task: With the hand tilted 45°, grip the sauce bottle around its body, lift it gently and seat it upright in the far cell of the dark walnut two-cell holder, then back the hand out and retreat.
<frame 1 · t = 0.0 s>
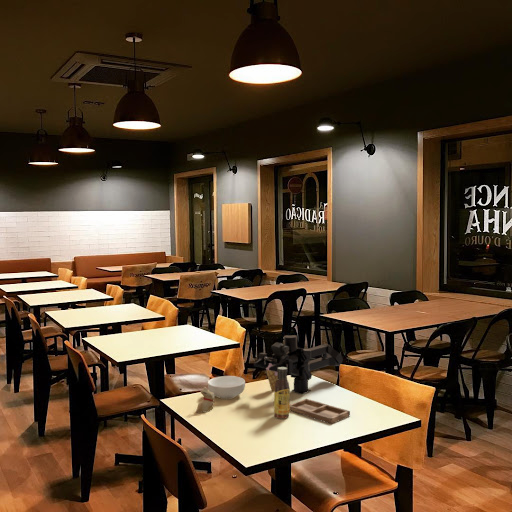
hand: (261, 366, 241), 17 cm above the table, tool horizontal, fingers open, 9 cm apart
ice cream cone: (273, 391, 262), on the table
sauce bottle: (282, 417, 228), on the table
chocolate bunny: (205, 410, 237), on the table
walnut holder: (318, 413, 231), on the table
cereal bowl: (226, 396, 255), on the table
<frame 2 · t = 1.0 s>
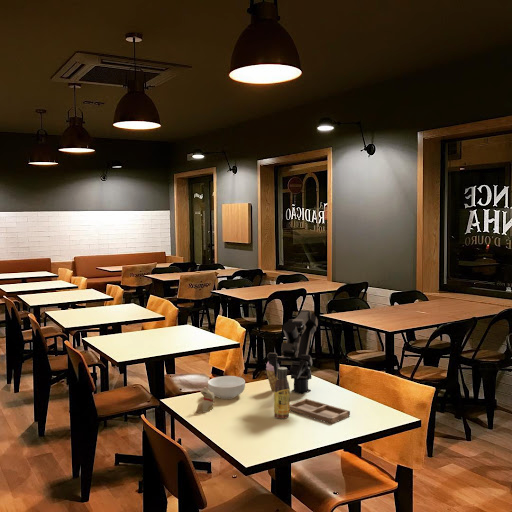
hand: (286, 377, 235), 14 cm above the table, tool tilted 45°, fingers open, 9 cm apart
nothing on the table moved.
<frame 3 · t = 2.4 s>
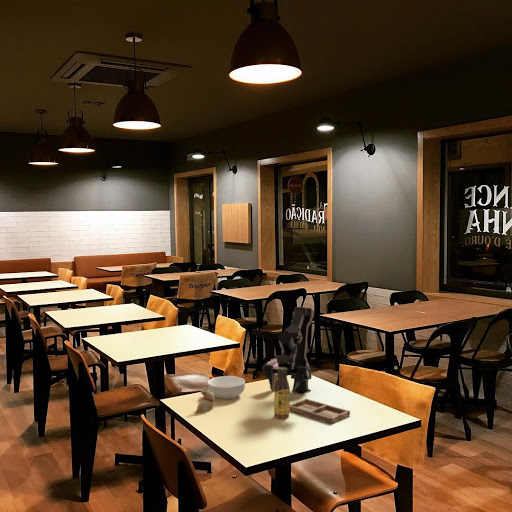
hand: (282, 390, 227), 11 cm above the table, tool tilted 45°, fingers open, 9 cm apart
nothing on the table moved.
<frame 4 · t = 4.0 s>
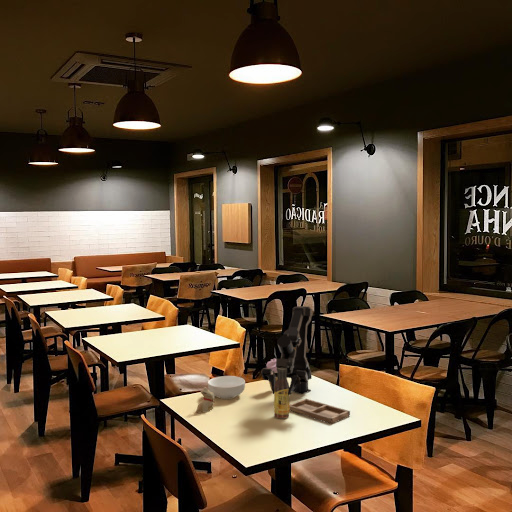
hand: (280, 394, 226), 10 cm above the table, tool tilted 45°, fingers closed on sauce bottle, 6 cm apart
sauce bottle: (282, 417, 228), on the table, touching gripper
everything else where it was.
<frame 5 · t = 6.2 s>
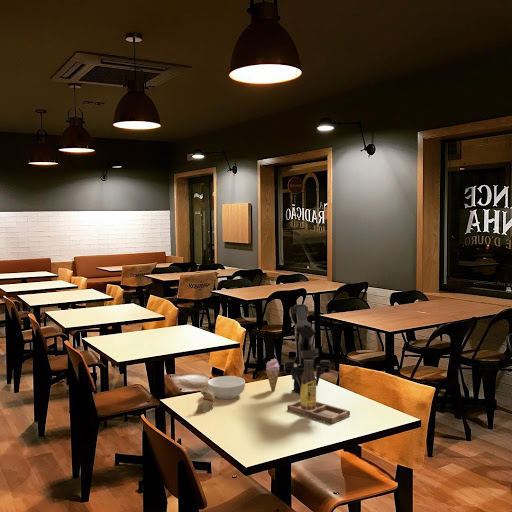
hand: (308, 385, 224), 13 cm above the table, tool tilted 45°, fingers closed on sauce bottle, 6 cm apart
sauce bottle: (308, 408, 226), point 3 cm above the table, touching gripper
everything else where it was.
when the fingers open (11 cm above the table, at t = 8.4 s): sauce bottle stays where it is, resting on walnut holder.
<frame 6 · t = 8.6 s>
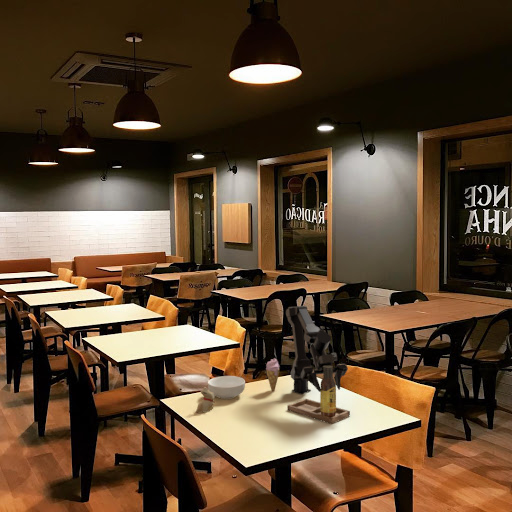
hand: (329, 390, 225), 11 cm above the table, tool tilted 45°, fingers open, 8 cm apart
sauce bottle: (328, 415, 227), resting on walnut holder
everything else where it was.
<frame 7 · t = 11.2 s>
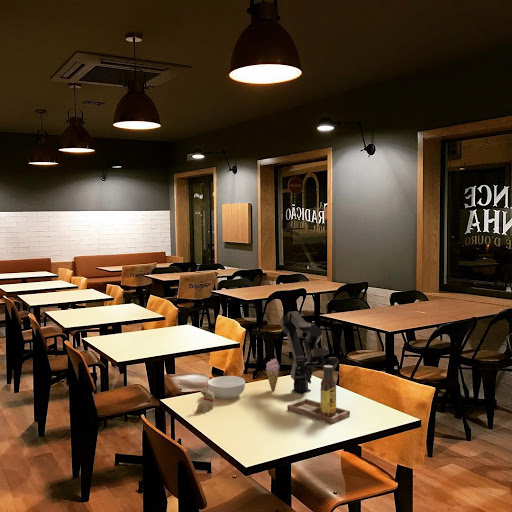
hand: (320, 382, 234), 12 cm above the table, tool tilted 45°, fingers open, 9 cm apart
nothing on the table moved.
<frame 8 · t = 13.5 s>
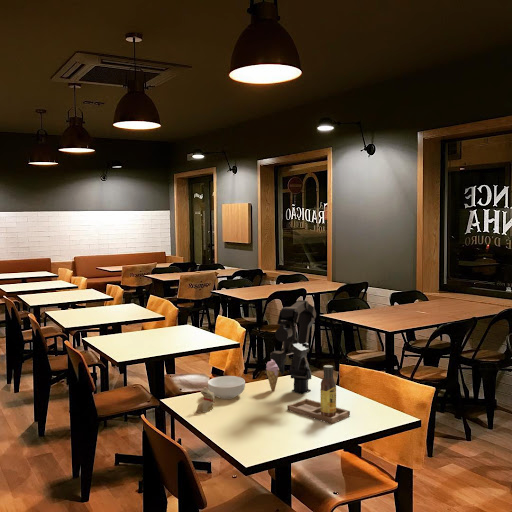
hand: (289, 372, 245), 13 cm above the table, tool pointing down, fingers open, 9 cm apart
nothing on the table moved.
at the end: sauce bottle 0.1 cm from the target spot on the walnut holder, point 0.3 cm above the walnut holder's base; sauce bottle tilted 0°; the gripper is holding nothing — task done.
